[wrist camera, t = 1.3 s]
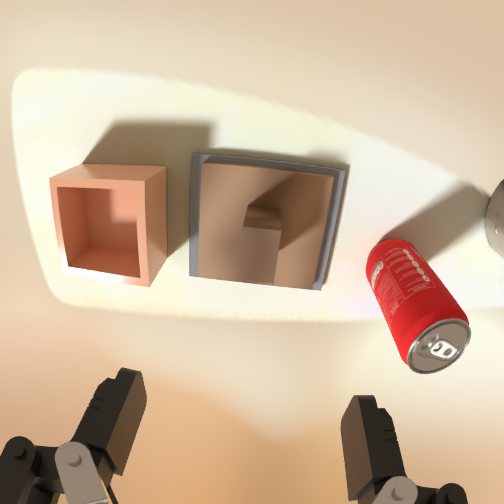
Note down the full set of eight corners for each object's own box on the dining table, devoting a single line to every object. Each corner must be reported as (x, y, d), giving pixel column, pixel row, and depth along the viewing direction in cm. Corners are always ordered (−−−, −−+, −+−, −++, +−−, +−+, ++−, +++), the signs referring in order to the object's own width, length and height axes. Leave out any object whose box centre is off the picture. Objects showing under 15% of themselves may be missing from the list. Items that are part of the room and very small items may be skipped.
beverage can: (384, 224, 26) (443, 304, 15) (424, 250, 27) (486, 331, 16) (351, 270, 28) (387, 365, 18) (392, 292, 29) (436, 383, 18)
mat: (343, 169, 24) (345, 171, 24) (320, 286, 29) (320, 290, 29) (193, 152, 25) (192, 154, 24) (190, 272, 29) (189, 276, 29)
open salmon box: (166, 166, 25) (144, 181, 21) (167, 258, 29) (149, 287, 24) (81, 163, 25) (49, 178, 21) (88, 248, 29) (63, 272, 25)
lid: (332, 175, 24) (346, 194, 19) (311, 284, 29) (317, 321, 24) (204, 161, 24) (187, 176, 19) (200, 272, 29) (186, 307, 24)
